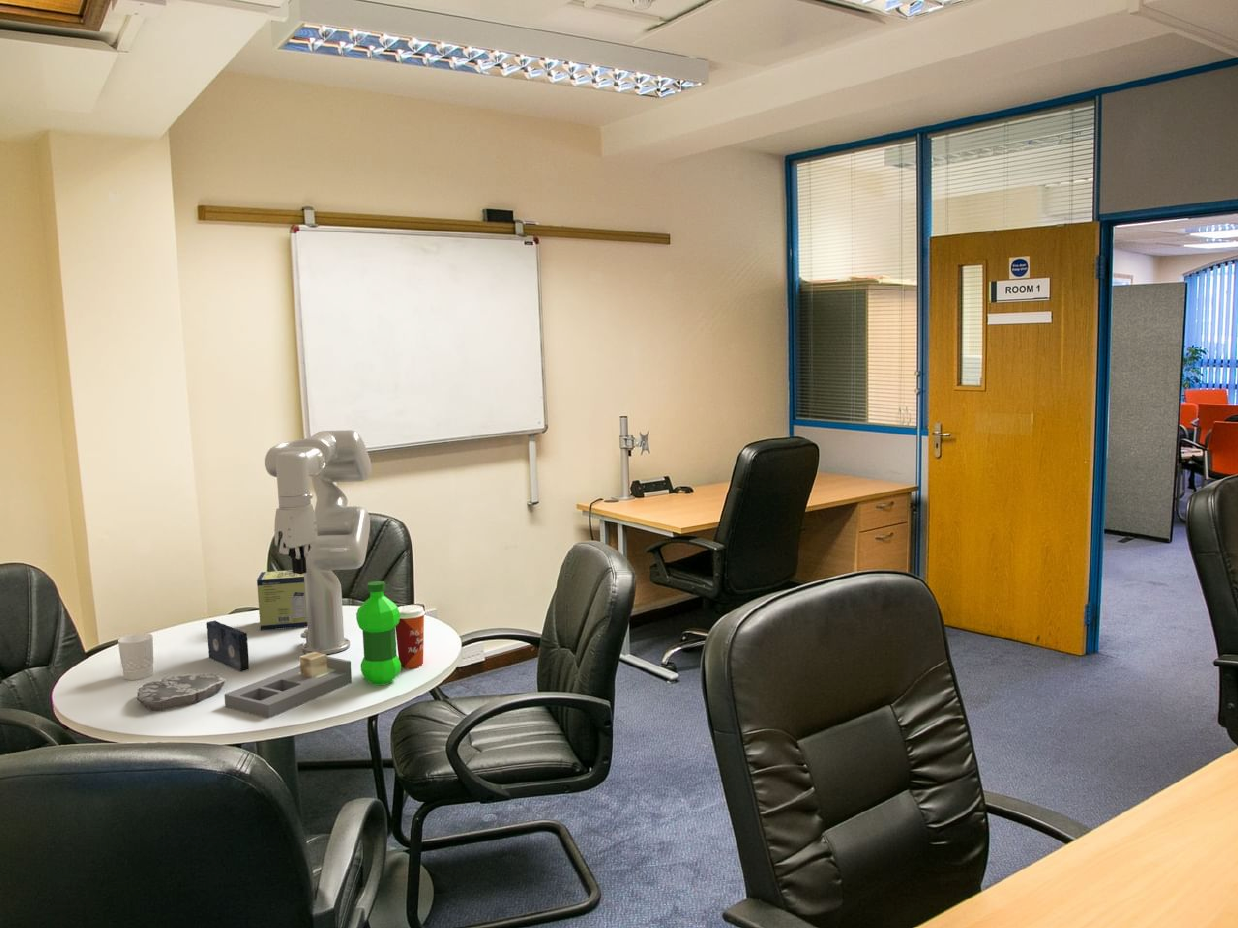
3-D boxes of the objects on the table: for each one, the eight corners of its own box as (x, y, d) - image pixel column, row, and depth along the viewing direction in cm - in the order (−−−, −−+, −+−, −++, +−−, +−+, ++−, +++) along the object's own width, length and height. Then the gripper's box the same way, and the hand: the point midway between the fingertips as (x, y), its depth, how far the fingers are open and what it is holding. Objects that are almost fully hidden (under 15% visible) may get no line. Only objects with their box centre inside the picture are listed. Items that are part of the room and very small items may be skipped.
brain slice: (196, 679, 235) (195, 668, 234) (235, 692, 225) (234, 680, 225) (118, 704, 219) (117, 692, 218) (156, 719, 209) (155, 706, 209)
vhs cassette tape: (250, 669, 241) (247, 632, 239) (238, 672, 239) (236, 635, 237) (219, 655, 253) (216, 619, 252) (208, 657, 251) (205, 622, 250)
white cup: (162, 672, 240) (159, 634, 239) (137, 682, 233) (134, 643, 231) (139, 669, 243) (135, 632, 241) (113, 679, 235) (110, 641, 234)
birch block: (300, 674, 227) (299, 656, 226) (316, 669, 231) (315, 651, 230) (311, 677, 224) (310, 659, 224) (327, 672, 228) (326, 654, 227)
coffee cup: (419, 670, 237) (417, 613, 235) (389, 669, 239) (386, 612, 237) (432, 659, 245) (430, 604, 243) (403, 658, 247) (400, 603, 245)
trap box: (225, 706, 215) (223, 683, 214) (309, 673, 236) (308, 652, 236) (269, 718, 208) (267, 694, 207) (352, 682, 229) (350, 661, 228)
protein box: (264, 621, 285) (260, 571, 283) (317, 616, 289) (314, 568, 287) (259, 630, 275) (255, 579, 273) (314, 626, 278) (311, 575, 277)
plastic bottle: (381, 691, 223) (376, 590, 220) (351, 684, 228) (345, 585, 225) (411, 678, 231) (406, 580, 228) (381, 671, 237) (376, 576, 234)
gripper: (307, 495, 238) (312, 564, 241) (259, 505, 225) (265, 578, 228) (328, 497, 234) (333, 567, 237) (280, 507, 221) (286, 582, 224)
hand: (299, 572), depth 232 cm, fingers closed
